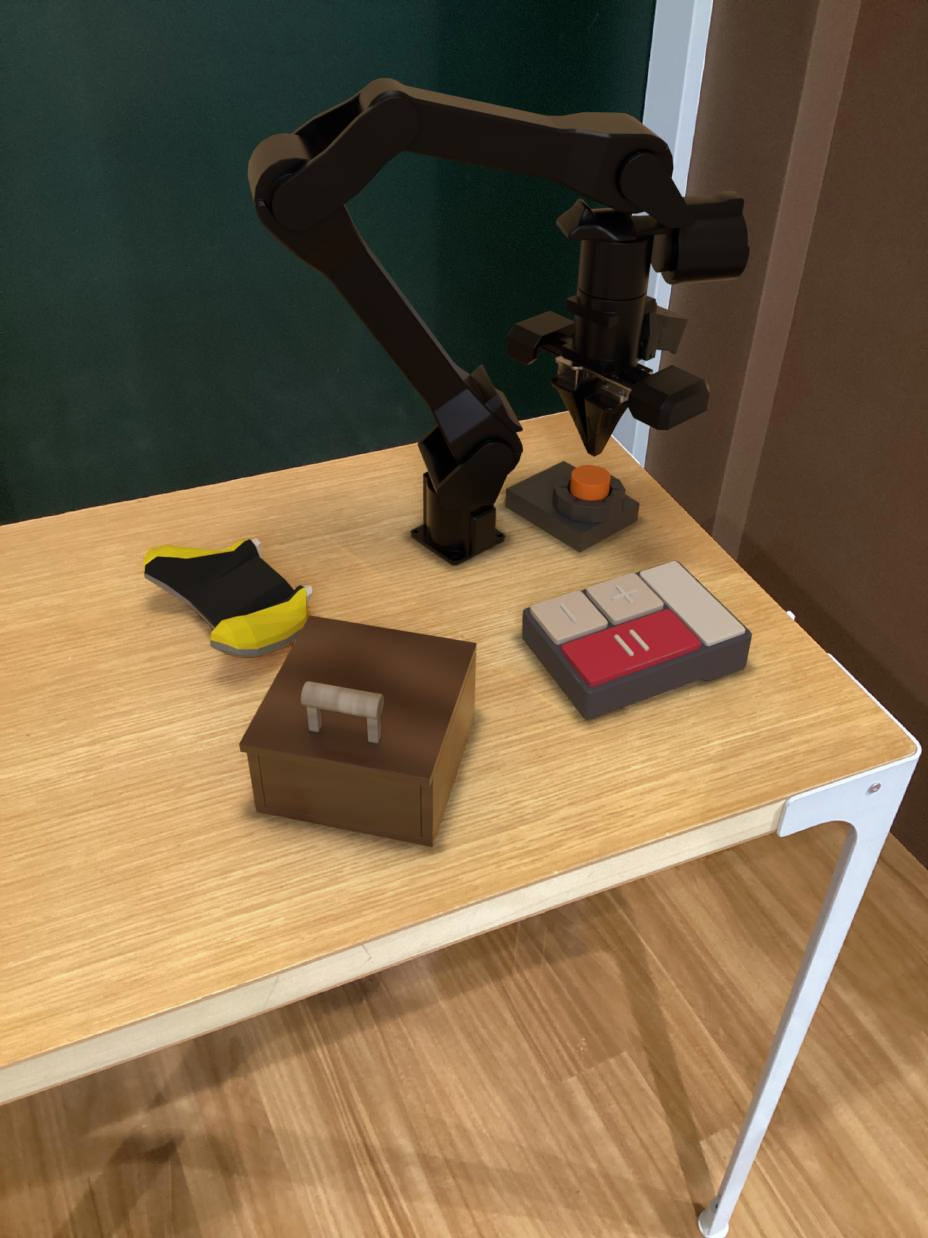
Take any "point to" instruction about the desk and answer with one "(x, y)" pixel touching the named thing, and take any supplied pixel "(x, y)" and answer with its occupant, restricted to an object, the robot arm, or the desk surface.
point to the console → (571, 507)
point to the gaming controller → (233, 595)
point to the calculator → (634, 638)
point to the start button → (590, 482)
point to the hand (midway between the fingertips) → (594, 453)
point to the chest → (365, 789)
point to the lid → (363, 701)
